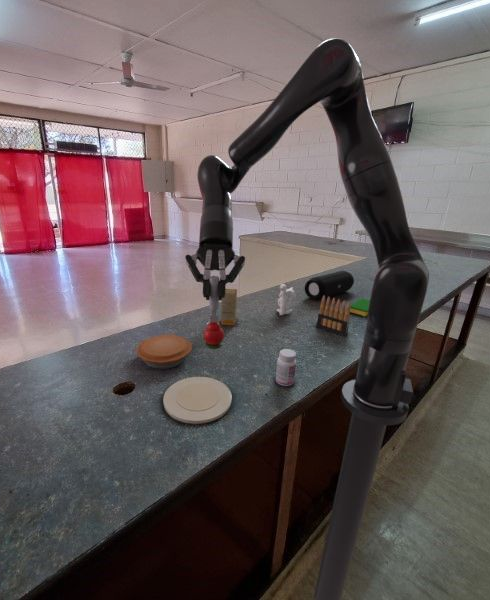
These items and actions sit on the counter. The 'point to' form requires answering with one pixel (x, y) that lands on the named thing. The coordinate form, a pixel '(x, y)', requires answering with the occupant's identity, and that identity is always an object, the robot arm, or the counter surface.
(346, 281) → the portable speaker
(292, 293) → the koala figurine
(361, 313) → the dish sponge
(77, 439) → the counter surface
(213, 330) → the forked strawberry
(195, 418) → the plate
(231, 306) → the shoe polish box
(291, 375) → the pill bottle
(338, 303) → the ammunition clip
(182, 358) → the pie
